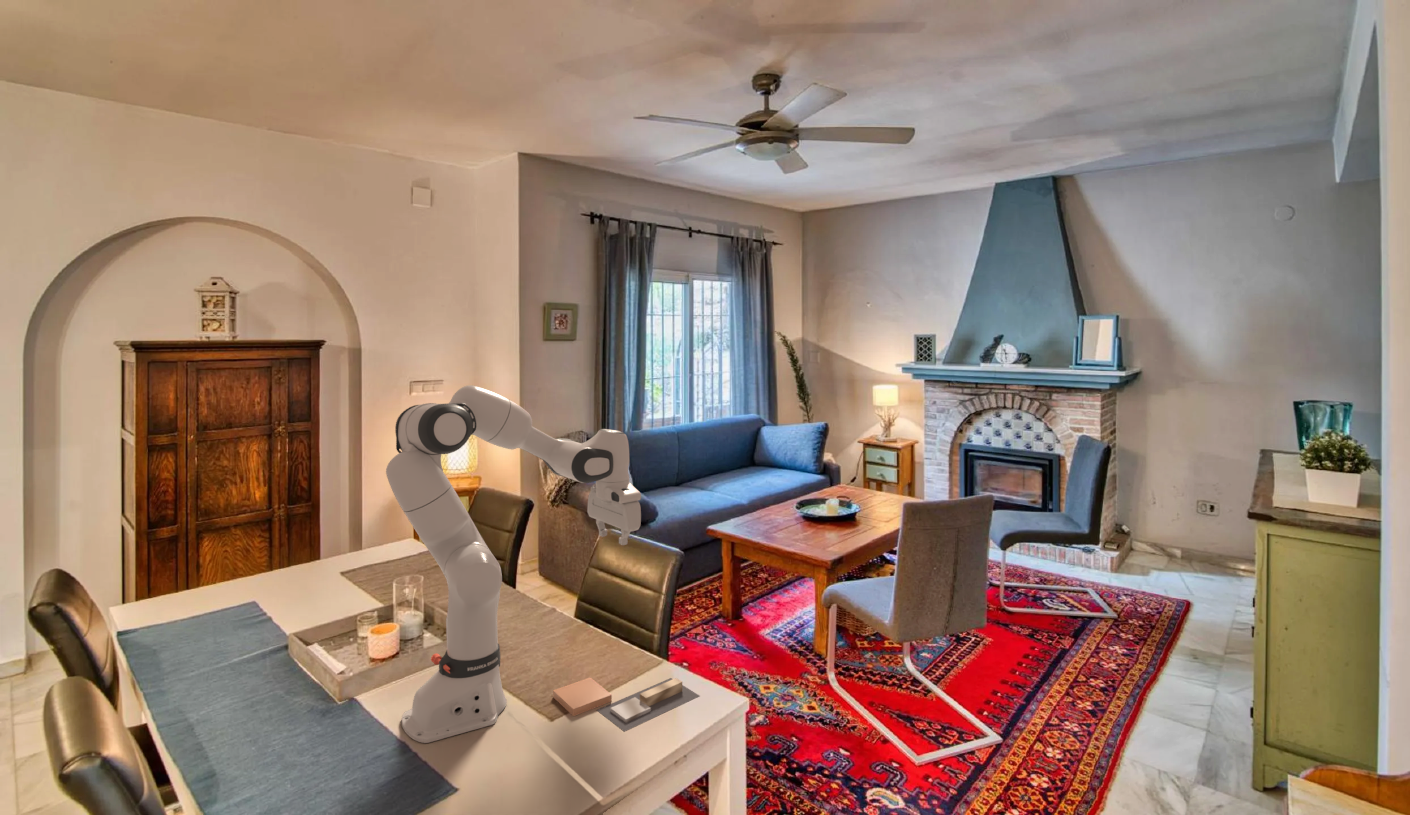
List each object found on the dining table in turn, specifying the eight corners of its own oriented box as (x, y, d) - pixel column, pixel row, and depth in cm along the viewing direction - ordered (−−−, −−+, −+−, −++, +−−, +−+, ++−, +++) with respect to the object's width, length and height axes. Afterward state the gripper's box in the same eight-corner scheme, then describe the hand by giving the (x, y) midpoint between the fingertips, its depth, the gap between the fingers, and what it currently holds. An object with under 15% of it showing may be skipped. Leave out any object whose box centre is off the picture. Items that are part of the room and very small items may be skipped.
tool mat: (624, 734, 147) (624, 731, 147) (596, 712, 155) (596, 709, 155) (700, 698, 162) (700, 695, 162) (670, 680, 170) (670, 677, 170)
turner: (625, 722, 150) (625, 712, 150) (610, 711, 155) (610, 701, 155) (687, 694, 162) (687, 684, 162) (671, 684, 167) (671, 674, 167)
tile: (611, 705, 159) (573, 720, 153) (590, 687, 167) (553, 700, 161) (611, 694, 159) (573, 709, 153) (590, 677, 167) (552, 690, 160)
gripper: (581, 484, 186) (581, 533, 187) (625, 498, 170) (625, 551, 172) (600, 480, 190) (601, 528, 191) (645, 494, 175) (645, 546, 176)
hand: (612, 539), depth 182 cm, fingers open, 8 cm apart
